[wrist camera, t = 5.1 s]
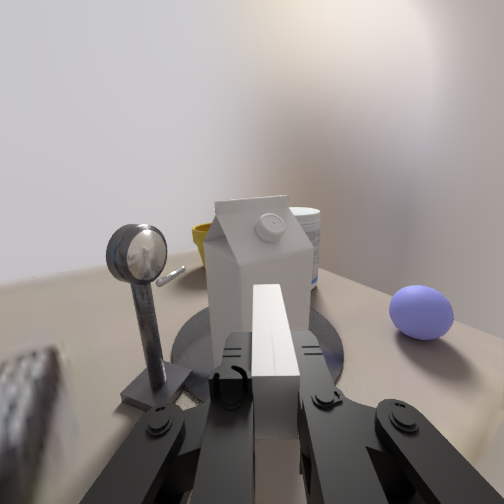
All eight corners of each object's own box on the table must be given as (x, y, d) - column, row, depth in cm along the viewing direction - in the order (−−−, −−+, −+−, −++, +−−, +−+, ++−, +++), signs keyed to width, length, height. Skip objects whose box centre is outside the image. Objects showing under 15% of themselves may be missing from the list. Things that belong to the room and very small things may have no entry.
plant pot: (189, 263, 60) (185, 225, 57) (227, 255, 65) (225, 220, 62) (205, 278, 52) (201, 233, 48) (246, 267, 57) (245, 227, 54)
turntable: (340, 453, 19) (341, 449, 19) (130, 377, 27) (130, 374, 27) (344, 310, 39) (344, 308, 39) (222, 290, 46) (222, 288, 46)
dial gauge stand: (168, 420, 22) (136, 234, 17) (122, 401, 24) (79, 229, 18) (199, 377, 27) (181, 221, 21) (157, 364, 29) (131, 217, 23)
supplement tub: (315, 275, 52) (320, 207, 47) (318, 297, 43) (324, 215, 38) (270, 273, 54) (271, 206, 49) (264, 293, 45) (264, 214, 40)
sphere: (460, 347, 30) (476, 298, 28) (413, 356, 29) (425, 305, 27) (414, 316, 37) (424, 274, 35) (374, 322, 36) (381, 279, 33)
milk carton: (213, 369, 27) (198, 197, 21) (266, 346, 31) (266, 192, 24) (245, 422, 21) (237, 206, 15) (305, 386, 25) (318, 198, 19)
